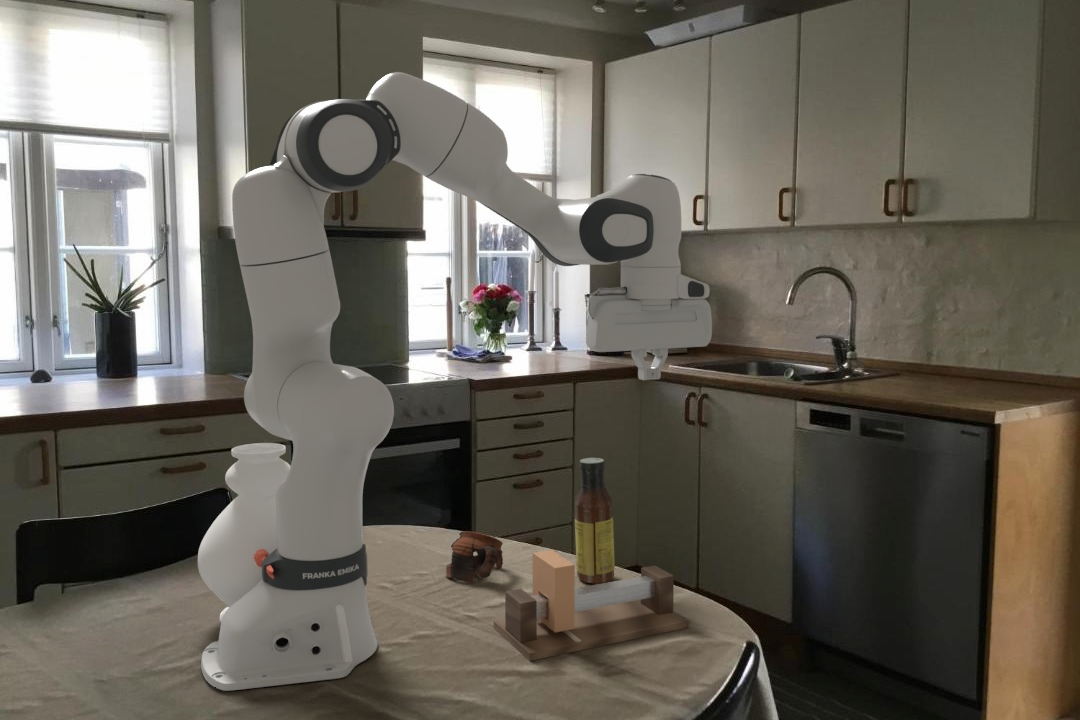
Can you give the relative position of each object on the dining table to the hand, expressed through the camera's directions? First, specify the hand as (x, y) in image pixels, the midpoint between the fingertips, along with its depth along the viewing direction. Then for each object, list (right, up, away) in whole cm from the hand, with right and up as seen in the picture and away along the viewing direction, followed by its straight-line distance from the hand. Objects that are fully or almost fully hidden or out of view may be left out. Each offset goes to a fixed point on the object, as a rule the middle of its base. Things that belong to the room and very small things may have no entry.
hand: (649, 379), depth 139 cm
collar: (-15, -34, -10) cm, 38 cm away
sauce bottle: (-8, -33, +13) cm, 36 cm away
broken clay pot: (-27, -33, +14) cm, 45 cm away
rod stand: (-9, -35, -7) cm, 37 cm away
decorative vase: (-57, -35, -2) cm, 67 cm away
